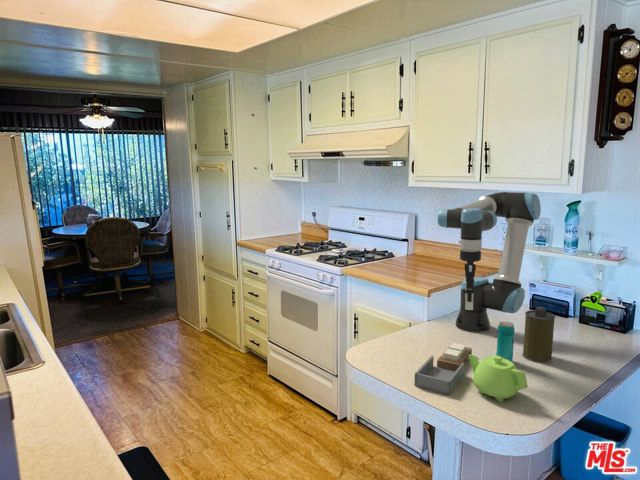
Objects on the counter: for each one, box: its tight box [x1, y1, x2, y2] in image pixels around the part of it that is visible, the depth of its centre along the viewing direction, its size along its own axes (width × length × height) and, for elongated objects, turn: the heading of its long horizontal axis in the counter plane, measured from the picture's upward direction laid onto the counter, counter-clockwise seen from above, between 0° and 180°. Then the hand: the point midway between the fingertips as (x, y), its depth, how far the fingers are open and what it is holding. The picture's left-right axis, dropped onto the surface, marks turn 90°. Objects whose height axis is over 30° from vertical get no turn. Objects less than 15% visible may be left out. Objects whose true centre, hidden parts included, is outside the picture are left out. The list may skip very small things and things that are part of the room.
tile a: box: [448, 342, 467, 355], centre depth 172 cm, size 5×5×2 cm
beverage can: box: [496, 321, 515, 362], centre depth 168 cm, size 6×6×15 cm
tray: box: [414, 355, 465, 396], centre depth 155 cm, size 17×12×4 cm
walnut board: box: [436, 343, 473, 371], centre depth 170 cm, size 18×8×3 cm, turn 147°
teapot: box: [468, 354, 529, 403], centre depth 145 cm, size 20×13×13 cm
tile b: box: [443, 348, 461, 361], centre depth 167 cm, size 5×5×2 cm
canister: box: [521, 305, 556, 363], centre depth 172 cm, size 11×10×20 cm
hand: (468, 303), depth 171 cm, fingers open, 13 cm apart
